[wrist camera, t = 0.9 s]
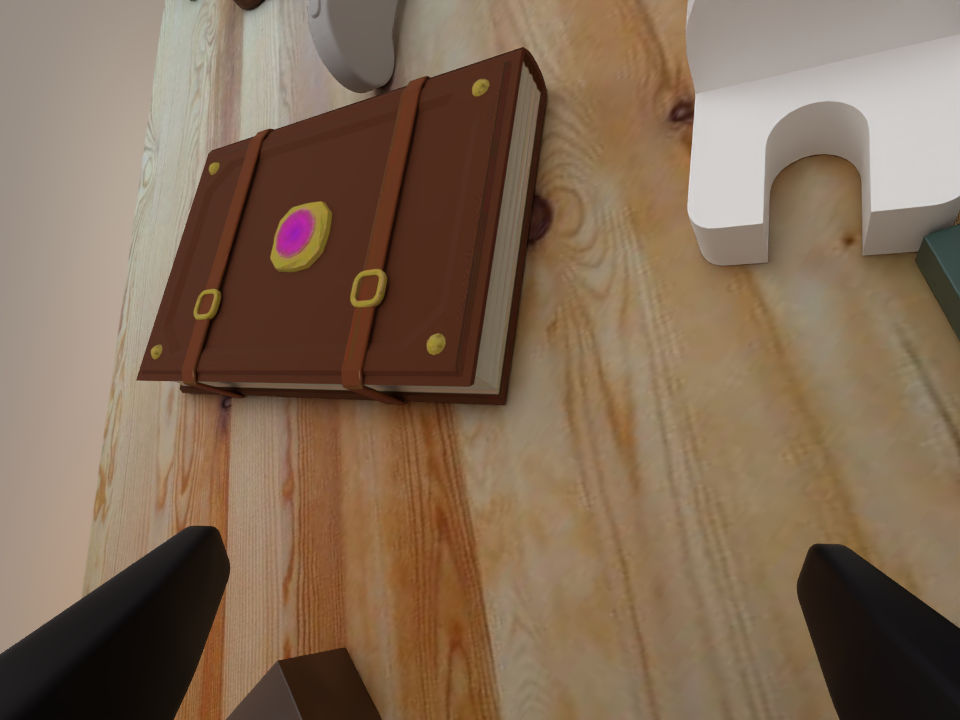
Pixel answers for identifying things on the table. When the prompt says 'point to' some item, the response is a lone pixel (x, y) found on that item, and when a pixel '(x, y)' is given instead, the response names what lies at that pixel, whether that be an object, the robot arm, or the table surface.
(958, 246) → the button box
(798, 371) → the table surface
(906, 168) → the bracket
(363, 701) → the block
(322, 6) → the game controller
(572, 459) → the table surface
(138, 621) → the robot arm
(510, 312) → the book
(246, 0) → the mug
